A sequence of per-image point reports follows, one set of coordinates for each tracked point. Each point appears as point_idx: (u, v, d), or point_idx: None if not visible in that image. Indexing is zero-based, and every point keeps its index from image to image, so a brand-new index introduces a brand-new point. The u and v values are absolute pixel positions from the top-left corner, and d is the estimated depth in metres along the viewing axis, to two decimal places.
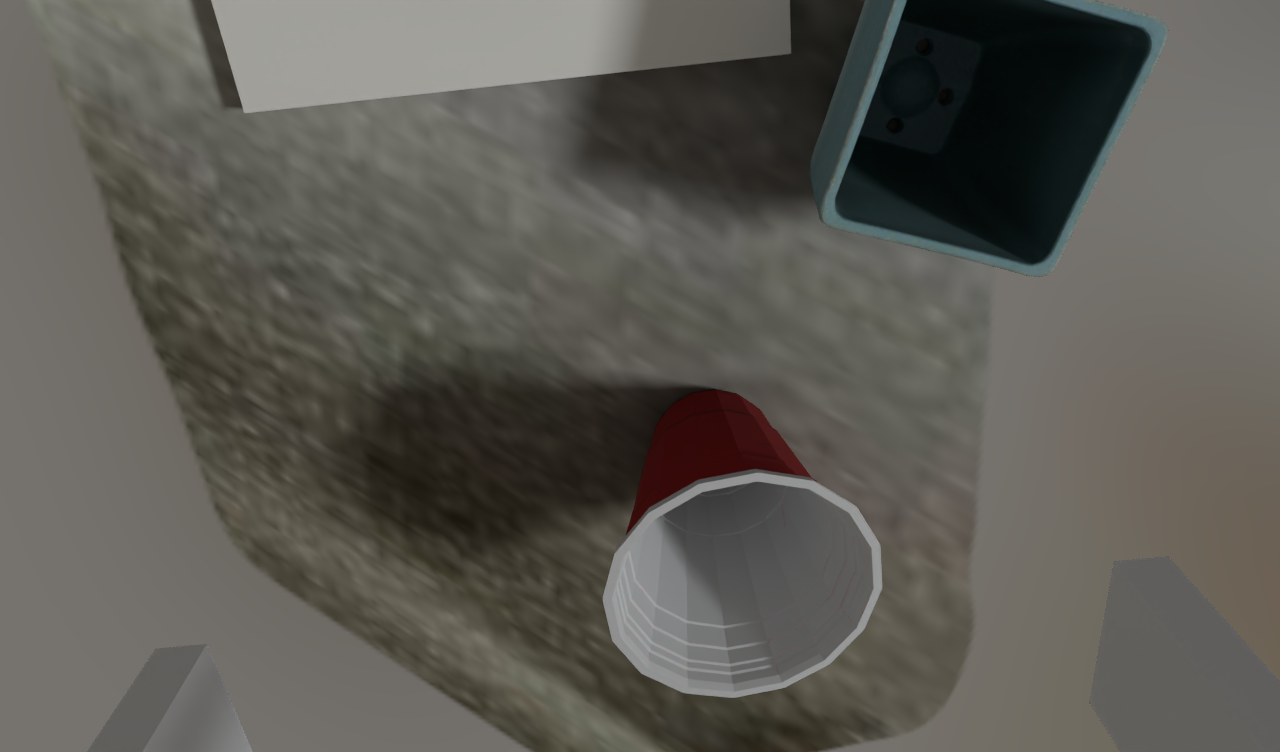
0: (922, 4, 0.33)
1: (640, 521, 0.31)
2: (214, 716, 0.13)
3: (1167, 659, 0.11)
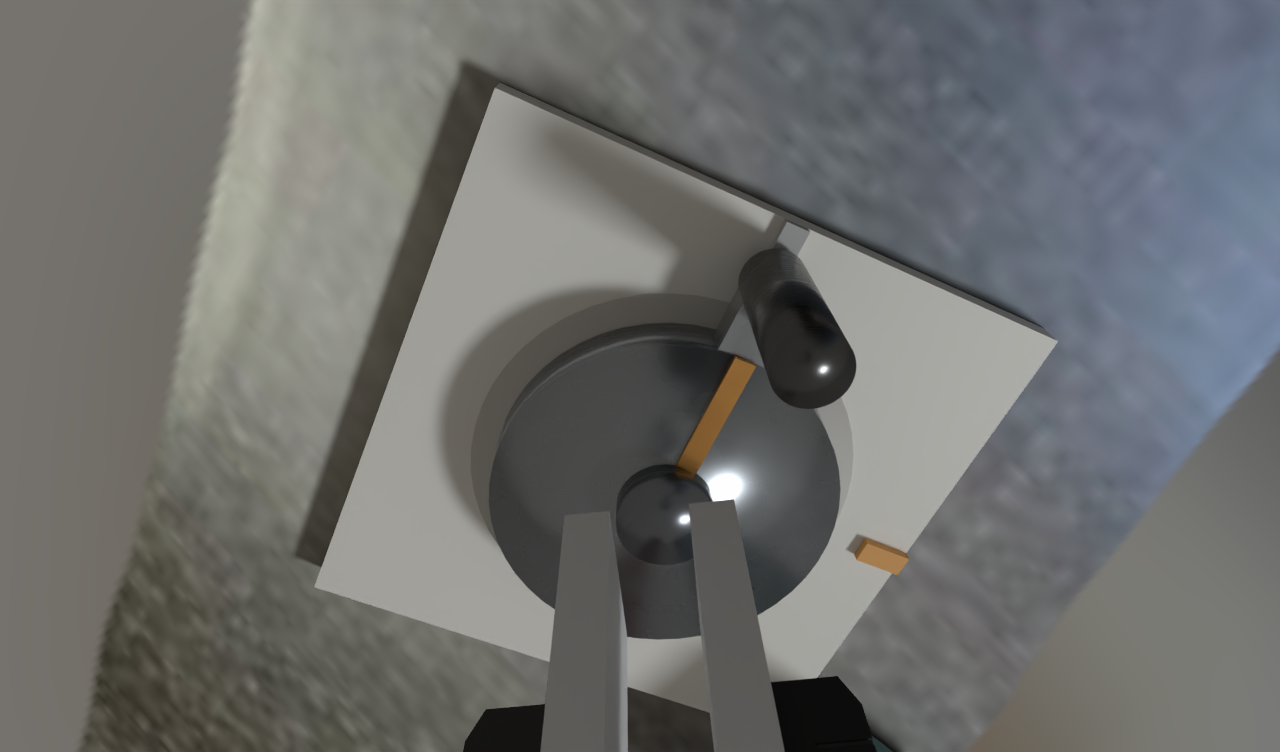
0: None
1: None
2: (615, 573, 0.14)
3: None
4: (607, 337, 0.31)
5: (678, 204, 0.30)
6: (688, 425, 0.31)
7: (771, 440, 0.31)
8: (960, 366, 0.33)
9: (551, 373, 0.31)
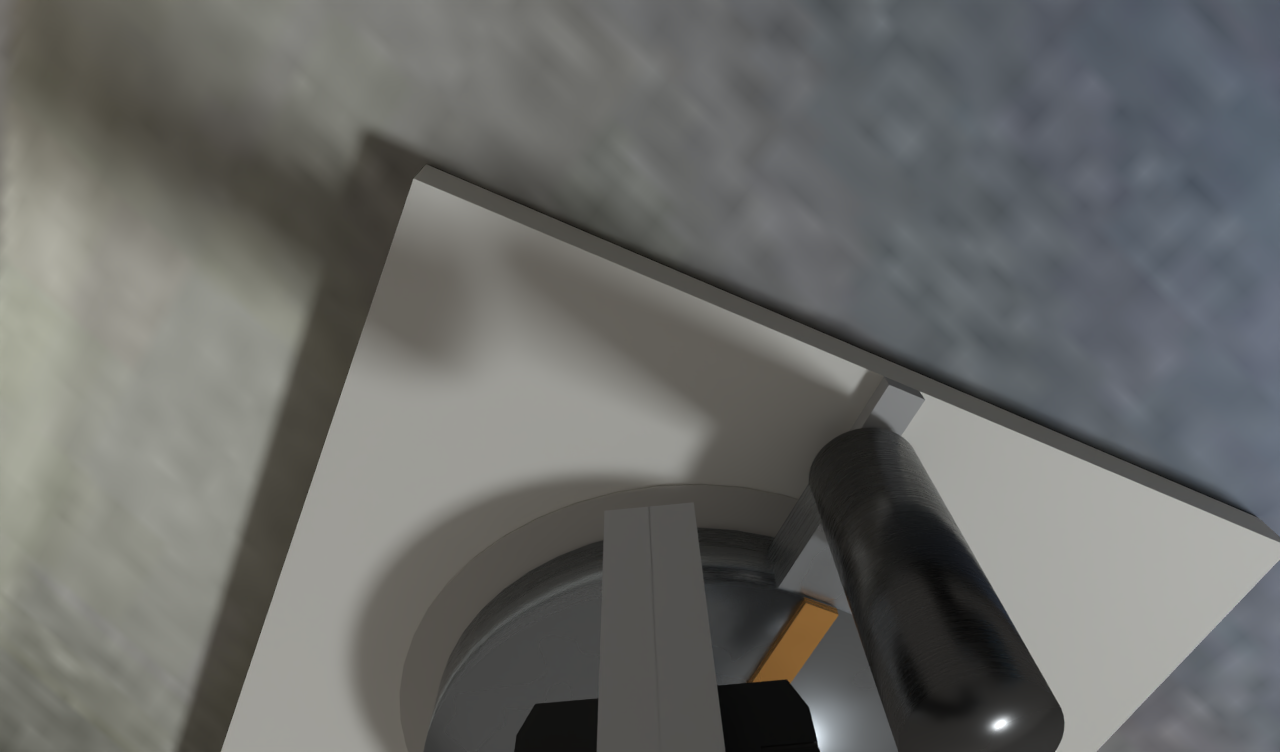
0: None
1: None
2: None
3: None
4: (601, 553, 0.20)
5: (714, 356, 0.19)
6: None
7: (855, 710, 0.20)
8: (1138, 581, 0.21)
9: (514, 611, 0.20)
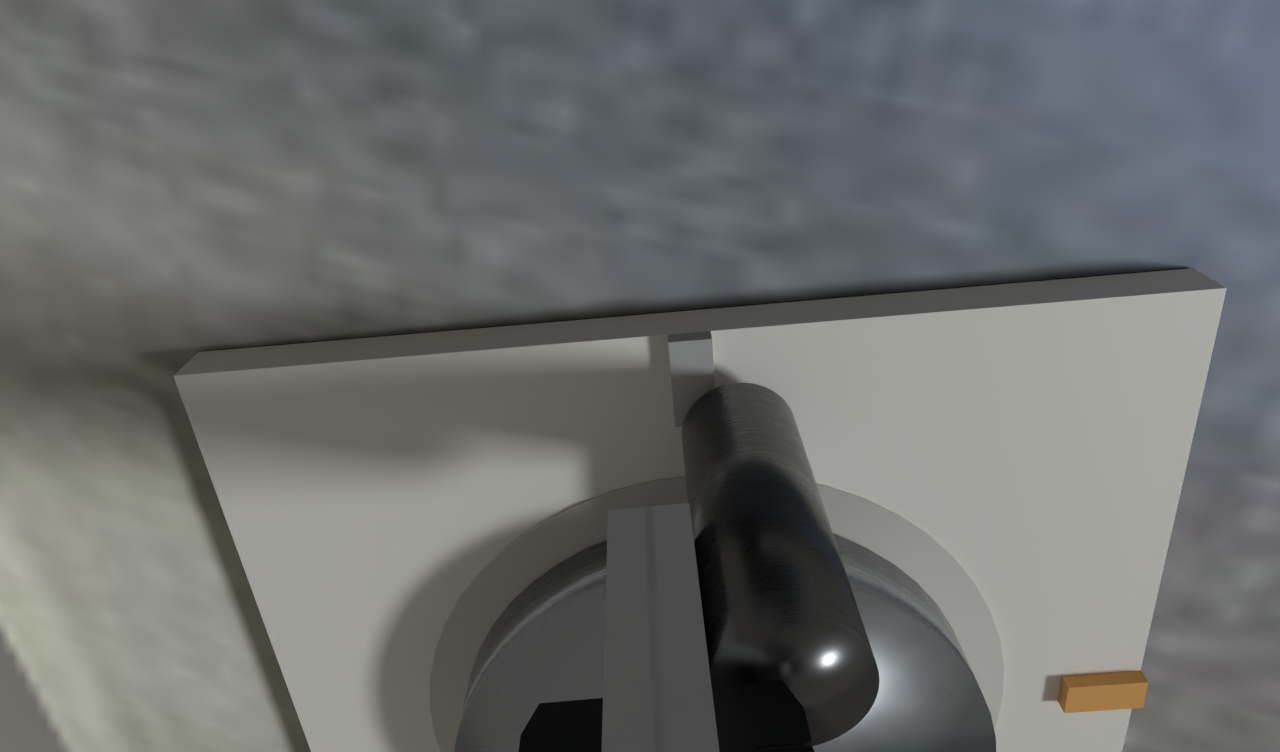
0: None
1: None
2: None
3: None
4: (538, 590, 0.20)
5: (506, 392, 0.19)
6: None
7: None
8: (1075, 399, 0.19)
9: (480, 668, 0.20)
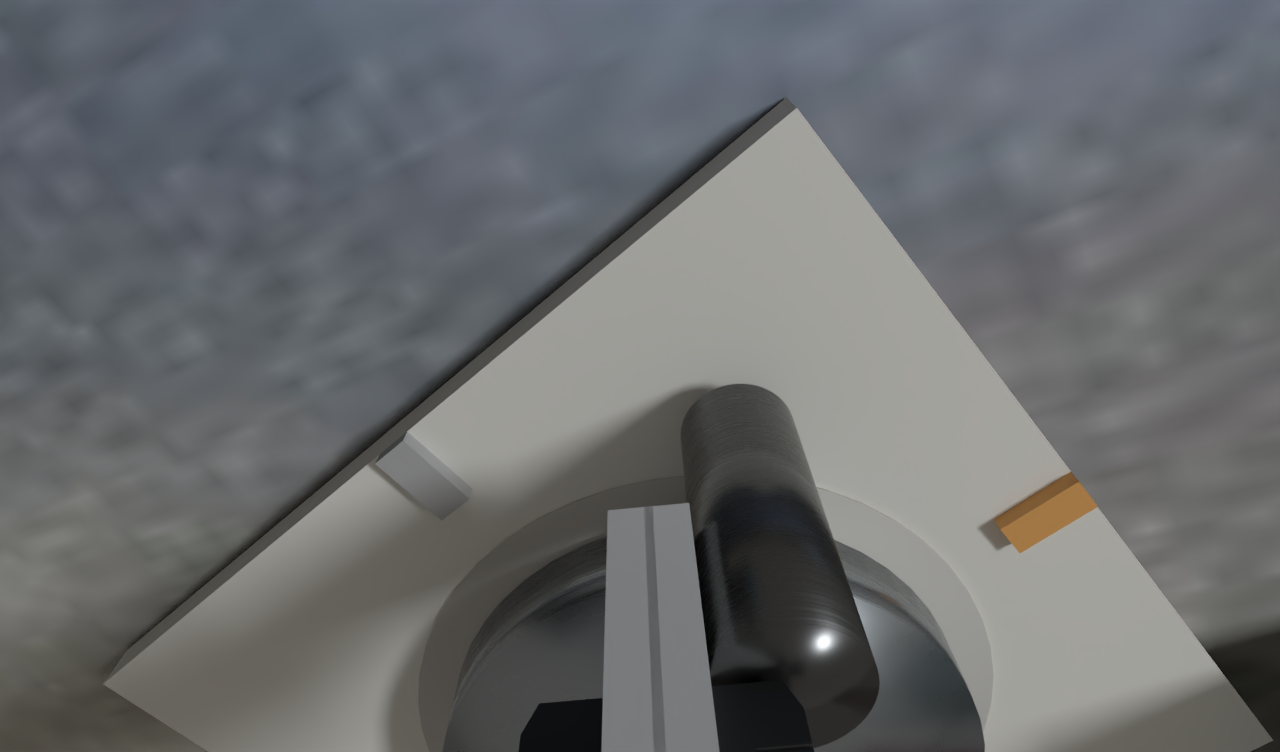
0: None
1: None
2: None
3: None
4: (531, 588, 0.20)
5: (311, 566, 0.21)
6: None
7: None
8: (754, 288, 0.18)
9: (471, 665, 0.20)
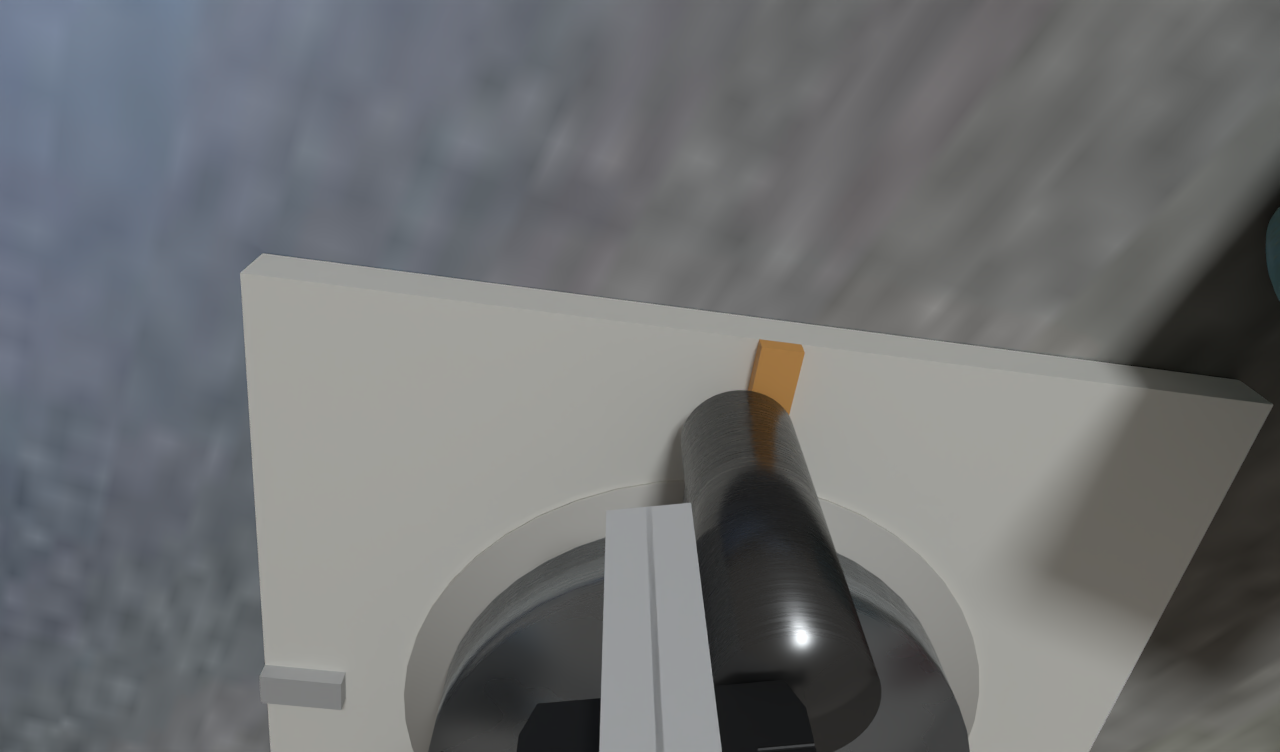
0: None
1: None
2: None
3: None
4: (524, 588, 0.20)
5: None
6: None
7: None
8: (358, 407, 0.19)
9: (460, 664, 0.20)
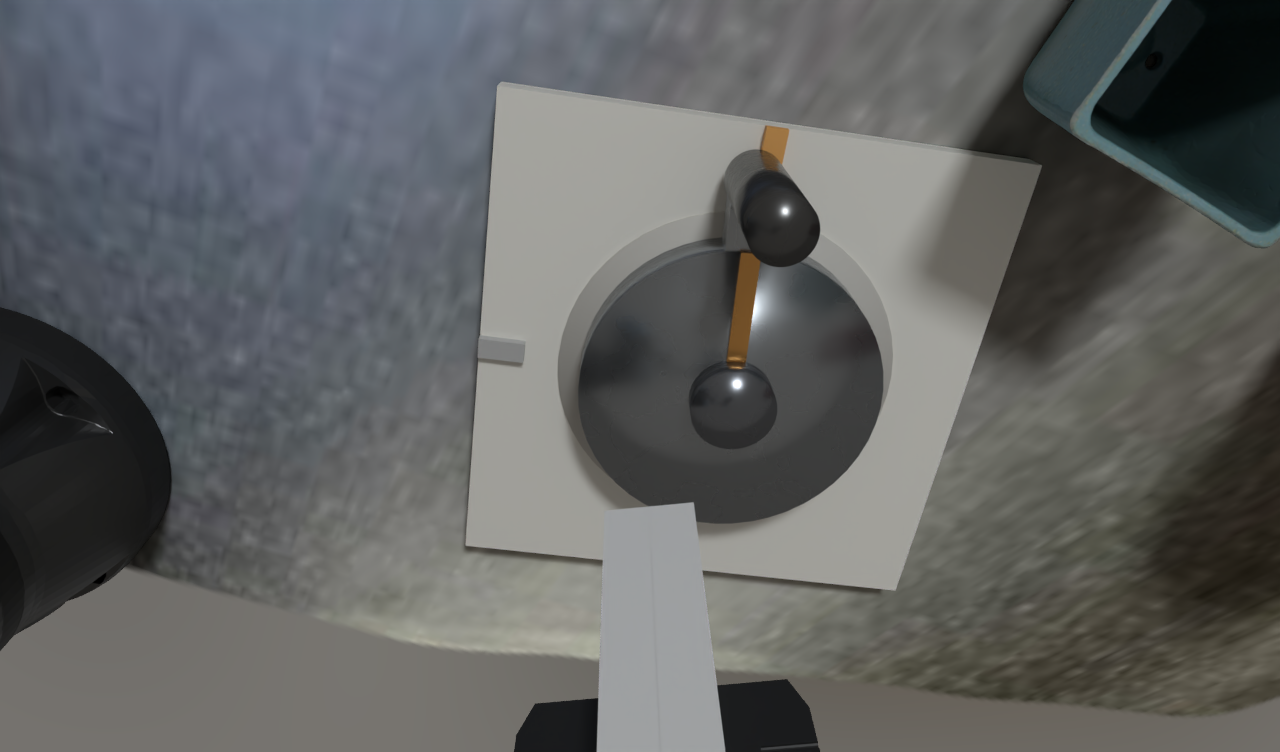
0: None
1: None
2: None
3: None
4: (635, 273, 0.36)
5: (496, 426, 0.40)
6: (725, 323, 0.36)
7: (799, 313, 0.36)
8: (550, 165, 0.35)
9: (599, 317, 0.36)
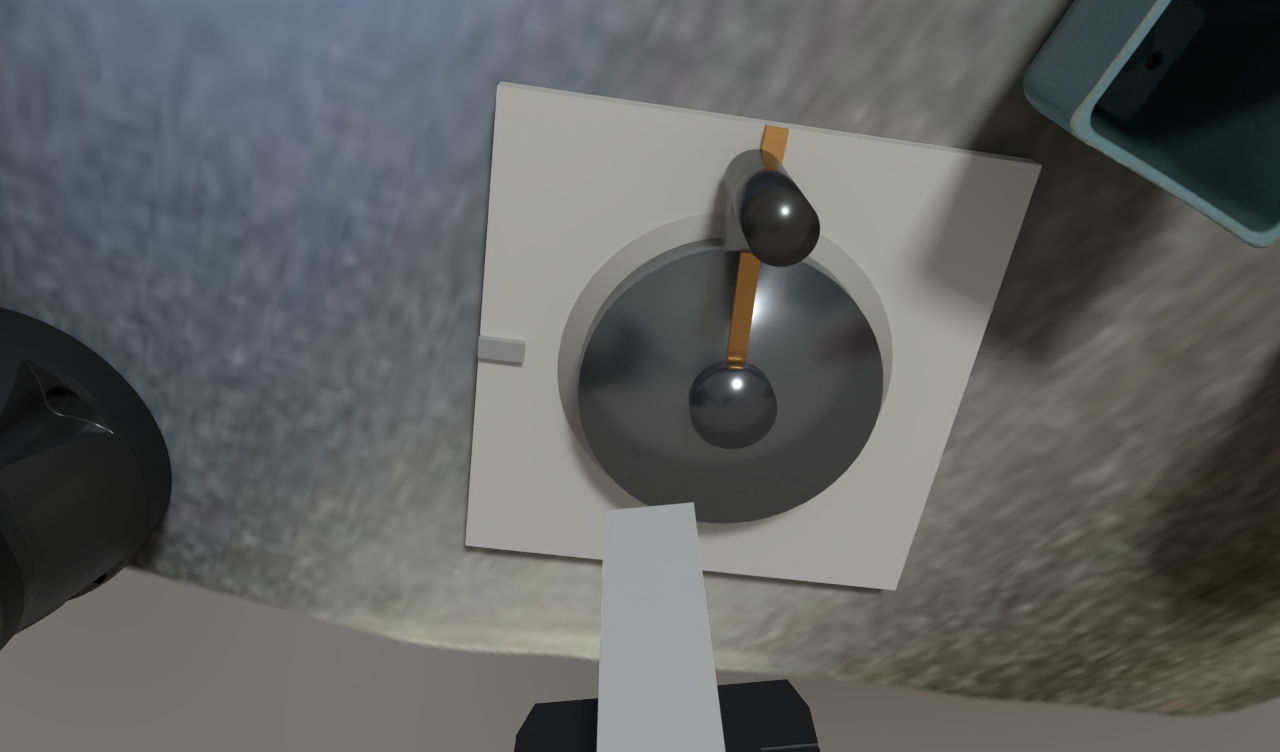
0: None
1: None
2: None
3: None
4: (635, 273, 0.36)
5: (496, 425, 0.40)
6: (725, 323, 0.36)
7: (798, 313, 0.36)
8: (550, 165, 0.35)
9: (599, 317, 0.36)
